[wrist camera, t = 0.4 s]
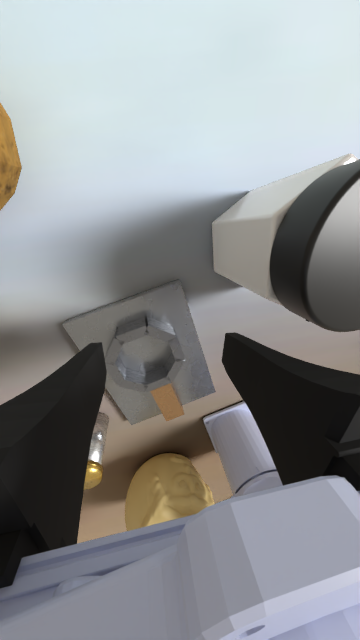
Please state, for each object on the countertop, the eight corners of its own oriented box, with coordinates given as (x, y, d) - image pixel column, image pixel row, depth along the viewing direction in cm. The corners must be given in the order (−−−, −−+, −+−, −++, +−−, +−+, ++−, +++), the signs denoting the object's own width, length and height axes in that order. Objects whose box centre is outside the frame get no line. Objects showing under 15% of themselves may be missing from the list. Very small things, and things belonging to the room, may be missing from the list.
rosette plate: (212, 386, 27) (221, 403, 24) (131, 418, 26) (130, 439, 24) (178, 279, 20) (184, 286, 17) (65, 320, 19) (53, 334, 16)
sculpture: (210, 450, 33) (240, 539, 23) (170, 490, 36) (182, 585, 26) (154, 434, 29) (162, 536, 19) (114, 481, 31) (103, 592, 22)
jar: (231, 299, 22) (322, 364, 11) (191, 237, 18) (267, 243, 8) (299, 248, 21) (469, 265, 10) (270, 171, 17) (486, 72, 7)
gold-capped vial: (114, 423, 26) (107, 481, 20) (90, 432, 26) (76, 494, 20) (102, 407, 25) (91, 465, 18) (77, 417, 24) (57, 478, 18)
